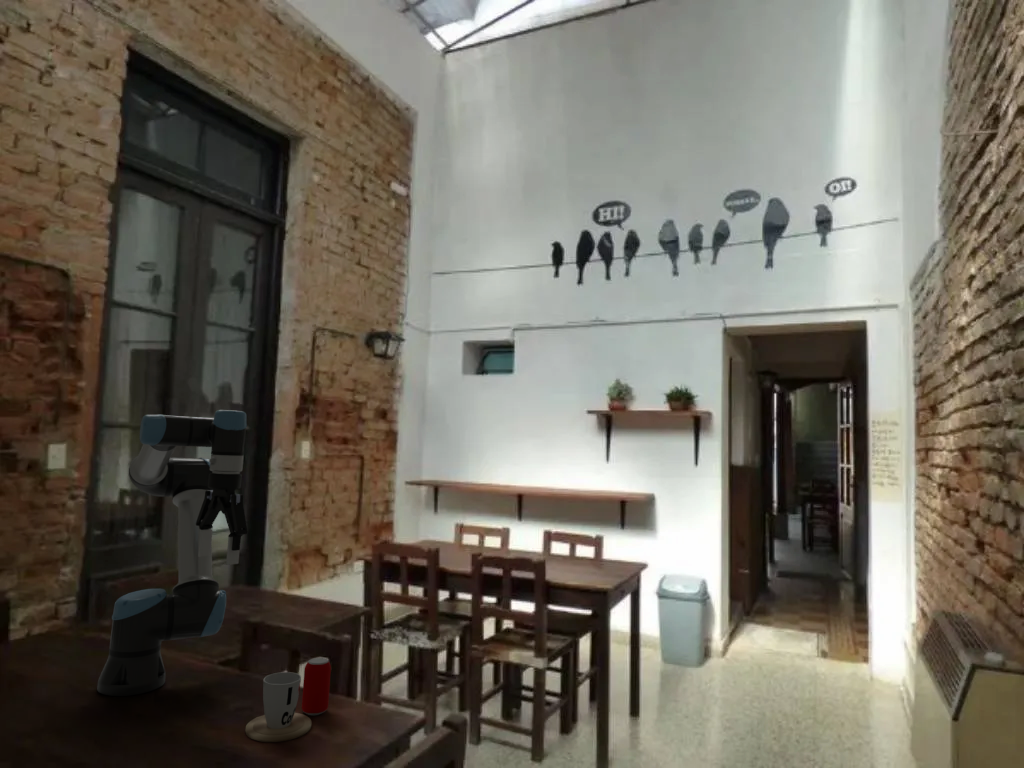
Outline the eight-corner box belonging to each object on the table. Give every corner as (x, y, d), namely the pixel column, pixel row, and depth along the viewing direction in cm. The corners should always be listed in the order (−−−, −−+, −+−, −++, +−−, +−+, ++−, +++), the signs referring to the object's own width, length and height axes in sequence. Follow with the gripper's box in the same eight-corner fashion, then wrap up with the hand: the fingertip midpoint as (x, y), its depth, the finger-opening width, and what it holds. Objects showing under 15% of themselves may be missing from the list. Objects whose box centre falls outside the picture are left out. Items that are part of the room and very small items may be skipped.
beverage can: (313, 705, 162) (317, 654, 163) (333, 710, 159) (336, 659, 160) (295, 713, 156) (299, 661, 158) (315, 719, 154) (319, 666, 155)
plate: (233, 728, 147) (233, 724, 147) (288, 710, 158) (288, 706, 158) (267, 748, 138) (268, 743, 138) (323, 728, 149) (323, 724, 149)
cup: (285, 733, 143) (289, 686, 144) (252, 728, 145) (256, 682, 146) (304, 719, 151) (307, 674, 152) (272, 714, 153) (276, 670, 154)
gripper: (186, 469, 167) (178, 554, 165) (237, 475, 152) (229, 569, 150) (215, 469, 173) (207, 551, 171) (267, 475, 158) (259, 565, 156)
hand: (217, 560), depth 160 cm, fingers open, 13 cm apart
